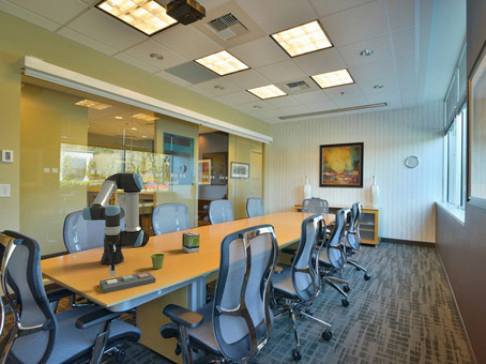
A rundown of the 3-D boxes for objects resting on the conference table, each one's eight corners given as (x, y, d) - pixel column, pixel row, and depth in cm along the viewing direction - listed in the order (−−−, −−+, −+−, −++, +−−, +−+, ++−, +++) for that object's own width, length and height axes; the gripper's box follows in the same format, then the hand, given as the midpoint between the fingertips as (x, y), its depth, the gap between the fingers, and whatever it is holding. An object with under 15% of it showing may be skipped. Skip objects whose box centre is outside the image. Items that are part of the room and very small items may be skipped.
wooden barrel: (144, 242, 258) (145, 213, 258) (152, 245, 245) (153, 215, 245) (125, 245, 245) (125, 214, 245) (133, 248, 232) (133, 216, 232)
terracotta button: (137, 278, 160) (137, 274, 160) (146, 276, 163) (146, 273, 163) (140, 281, 156) (140, 277, 156) (148, 279, 159) (148, 275, 159)
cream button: (106, 284, 149) (106, 280, 149) (115, 282, 152) (115, 278, 152) (107, 287, 145) (107, 283, 145) (117, 285, 148) (117, 281, 148)
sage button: (122, 280, 155) (122, 276, 155) (131, 278, 158) (131, 274, 158) (124, 282, 151) (124, 278, 151) (133, 281, 154) (133, 277, 154)
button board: (99, 285, 152) (99, 280, 152) (147, 275, 168) (148, 271, 168) (104, 293, 140) (104, 288, 140) (155, 282, 157) (155, 278, 157)
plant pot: (155, 271, 176) (155, 258, 176) (147, 268, 182) (147, 255, 182) (167, 268, 183) (167, 255, 183) (160, 265, 189) (160, 252, 189)
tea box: (199, 251, 227) (200, 234, 227) (188, 253, 221) (188, 235, 221) (192, 247, 239) (192, 231, 239) (181, 249, 233) (182, 232, 233)
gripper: (102, 232, 152) (102, 273, 152) (107, 236, 142) (107, 281, 142) (117, 230, 156) (116, 270, 157) (122, 235, 146) (122, 278, 147)
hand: (112, 275), depth 150 cm, fingers closed
